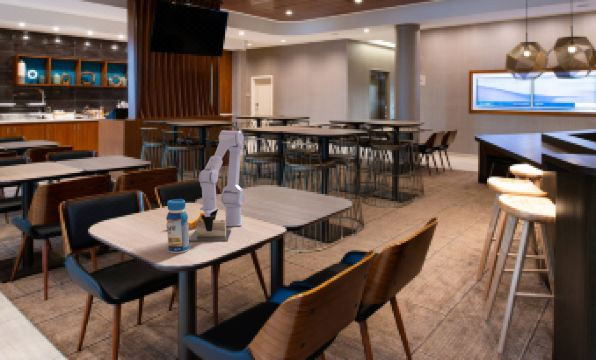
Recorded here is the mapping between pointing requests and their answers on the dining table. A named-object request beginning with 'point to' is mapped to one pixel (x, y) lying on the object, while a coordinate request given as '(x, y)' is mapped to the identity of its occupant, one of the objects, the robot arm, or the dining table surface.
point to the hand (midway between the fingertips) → (210, 228)
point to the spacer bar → (217, 228)
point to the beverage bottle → (177, 226)
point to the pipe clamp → (195, 221)
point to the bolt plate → (209, 237)
